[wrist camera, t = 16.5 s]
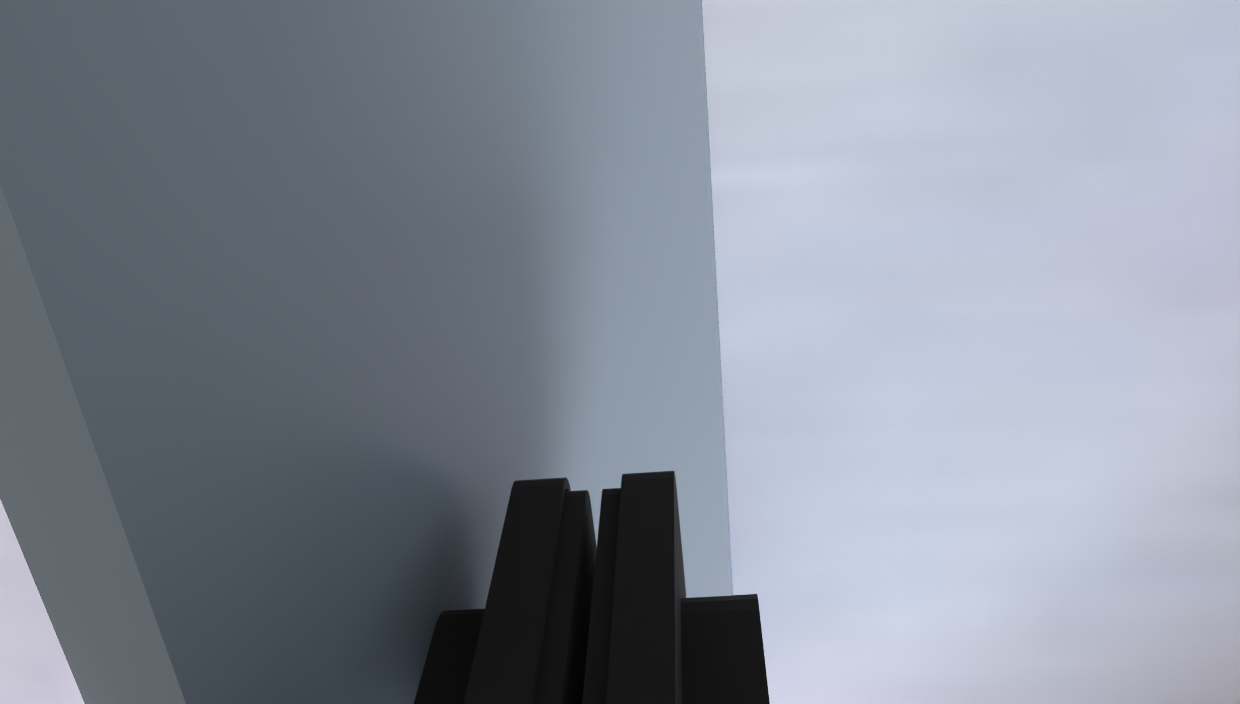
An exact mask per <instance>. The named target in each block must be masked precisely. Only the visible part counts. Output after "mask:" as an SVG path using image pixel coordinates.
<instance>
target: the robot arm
mask: <svg viewBox="0 0 1240 704" xmlns="http://www.w3.org/2000/svg"><path fill="white" fill-rule="evenodd" d="M414 704H769V695H768V686H767V677H766V667H765V658H764V649H763V640H762V631H761V622H760V613H759V604H758V597H757V594H751V595H732V596H713V597H694V598H687V597H686V586H685V575H684V564H683V553H682V542H681V531H680V520H679V509H678V498H677V487H676V478H675V472H674V471H661V472H644V473H628V474H623V475H622V479H621V488H611V489H603V490H602V496H601V507H600V518H599V528H598V539H597V545H596V538H595V530H594V523H593V515H592V508H591V501H590V495H589V492H588V490H579V491H571V489H570V484H569V481H568V479H567V477H564V478H548V479H531V480H516V481H514V482H513V485H512V489H511V493H510V498H509V502H508V507H507V511H506V516H505V520H504V525H503V529H502V534H501V538H500V543H499V547H498V552H497V556H496V561H495V565H494V570H493V574H492V579H491V583H490V588H489V592H488V597H487V601H486V606H485V609H466V610H447V611H443V612H442V613H441V614H440V615H439V617H438V620H437V623H436V625H435V628H434V632H433V636H432V639H431V643H430V646H429V650H428V654H427V657H426V661H425V665H424V668H423V672H422V675H421V679H420V683H419V686H418V690H417V693H416V697H415V701H414Z"/></svg>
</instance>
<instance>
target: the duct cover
mask: <svg viewBox="0 0 1240 704" xmlns="http://www.w3.org/2000/svg"><path fill="white" fill-rule="evenodd" d="M661 471H674V472H675V478H676V487H677V498H678V509H679V520H680V531H681V542H682V553H683V564H684V575H685V586H686V597H687V598H694V597H713V596H732V595H733V588H732V569H731V550H730V531H729V512H728V493H727V473H726V454H725V435H724V416H723V397H722V378H721V359H720V340H719V321H718V301H717V282H716V263H715V244H714V225H713V206H712V187H711V168H710V149H709V129H708V110H707V91H706V72H705V53H704V34H703V15H702V0H0V499H1V501H2V504H3V506H4V508H5V511H6V513H7V516H8V518H9V521H10V523H11V525H12V528H13V530H14V533H15V535H16V538H17V540H18V542H19V545H20V547H21V550H22V552H23V555H24V557H25V559H26V562H27V564H28V567H29V569H30V571H31V574H32V576H33V579H34V581H35V584H36V586H37V588H38V591H39V593H40V596H41V598H42V601H43V603H44V605H45V608H46V610H47V613H48V615H49V618H50V620H51V622H52V625H53V627H54V630H55V632H56V635H57V637H58V639H59V642H60V644H61V647H62V649H63V652H64V654H65V656H66V659H67V661H68V664H69V666H70V669H71V671H72V673H73V676H74V678H75V681H76V683H77V686H78V688H79V690H80V693H81V695H82V698H83V700H84V703H85V704H414V701H415V697H416V693H417V690H418V686H419V683H420V679H421V675H422V672H423V668H424V665H425V661H426V657H427V654H428V650H429V646H430V643H431V639H432V636H433V632H434V628H435V625H436V623H437V620H438V617H439V615H440V614H441V613H442V612H443V611H447V610H466V609H485V606H486V601H487V597H488V592H489V588H490V583H491V579H492V574H493V570H494V565H495V561H496V556H497V552H498V547H499V543H500V538H501V534H502V529H503V525H504V520H505V516H506V511H507V507H508V502H509V498H510V493H511V489H512V485H513V482H514V481H516V480H531V479H548V478H564V477H567V479H568V481H569V484H570V489H571V491H579V490H588V492H589V495H590V501H591V508H592V515H593V523H594V530H595V538H596V545H597V539H598V528H599V518H600V507H601V496H602V490H603V489H611V488H621V479H622V475H623V474H628V473H644V472H661Z"/></svg>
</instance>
